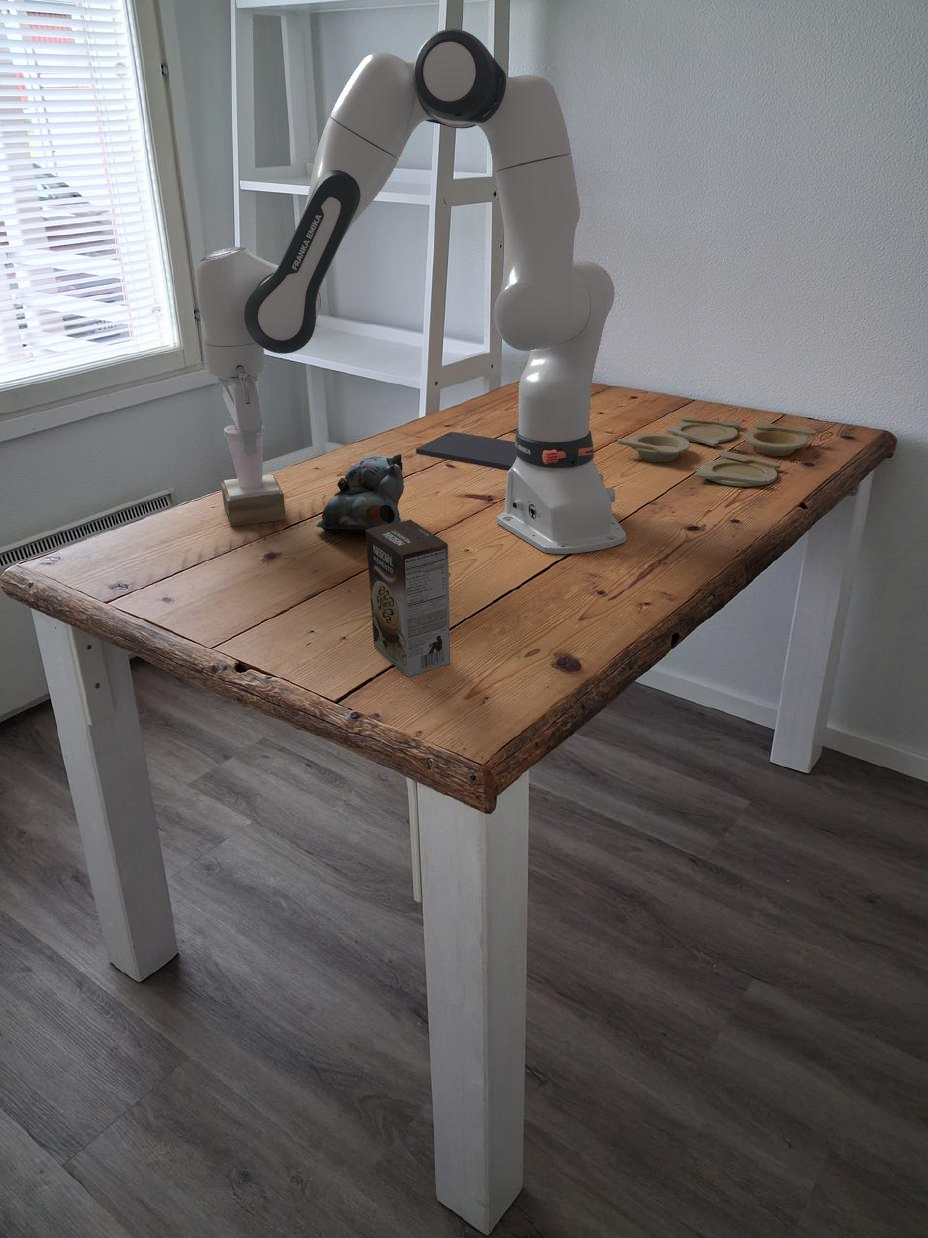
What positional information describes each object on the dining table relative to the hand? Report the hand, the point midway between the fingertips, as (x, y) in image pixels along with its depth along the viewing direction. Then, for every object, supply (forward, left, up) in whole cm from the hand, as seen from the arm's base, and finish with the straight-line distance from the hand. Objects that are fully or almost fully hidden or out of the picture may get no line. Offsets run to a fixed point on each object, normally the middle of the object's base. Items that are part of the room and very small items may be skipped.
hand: (246, 445), depth 161 cm
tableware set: (-1, -87, -12) cm, 88 cm away
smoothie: (0, 0, -7) cm, 7 cm away
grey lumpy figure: (-13, -15, -12) cm, 24 cm away
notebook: (+16, -45, -12) cm, 50 cm away
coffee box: (-55, -11, -12) cm, 57 cm away
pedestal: (0, 0, -12) cm, 12 cm away
